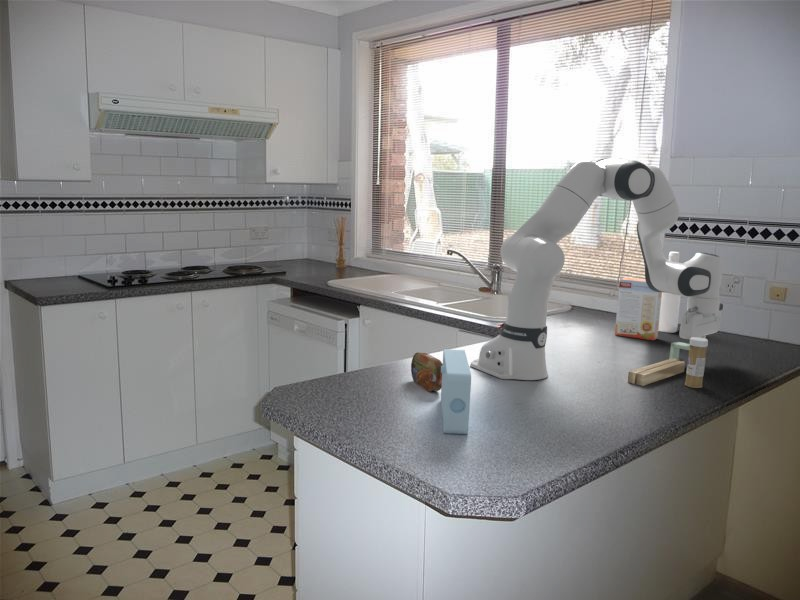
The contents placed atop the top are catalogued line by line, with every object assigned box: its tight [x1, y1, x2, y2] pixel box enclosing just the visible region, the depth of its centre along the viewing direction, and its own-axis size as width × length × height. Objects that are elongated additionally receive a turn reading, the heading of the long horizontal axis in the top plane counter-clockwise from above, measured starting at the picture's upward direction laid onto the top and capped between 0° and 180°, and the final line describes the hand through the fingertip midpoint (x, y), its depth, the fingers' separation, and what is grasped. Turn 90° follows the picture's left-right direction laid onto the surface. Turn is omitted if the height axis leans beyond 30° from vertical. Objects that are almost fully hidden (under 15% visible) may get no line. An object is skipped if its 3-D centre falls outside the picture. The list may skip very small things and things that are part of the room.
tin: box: [410, 351, 443, 393], centre depth 178 cm, size 15×3×8 cm, turn 23°
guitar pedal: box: [440, 348, 472, 435], centre depth 155 cm, size 23×6×13 cm, turn 178°
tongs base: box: [627, 358, 684, 385], centre depth 198 cm, size 3×27×3 cm, turn 133°
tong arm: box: [635, 361, 686, 387], centre depth 196 cm, size 2×24×3 cm, turn 133°
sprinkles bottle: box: [684, 337, 709, 389], centre depth 188 cm, size 5×5×14 cm
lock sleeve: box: [668, 341, 690, 359], centre depth 208 cm, size 8×4×7 cm, turn 43°
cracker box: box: [614, 277, 662, 341], centre depth 248 cm, size 14×6×21 cm, turn 58°
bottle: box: [658, 251, 682, 334], centre depth 260 cm, size 8×8×30 cm
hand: (697, 349), depth 213 cm, fingers closed
